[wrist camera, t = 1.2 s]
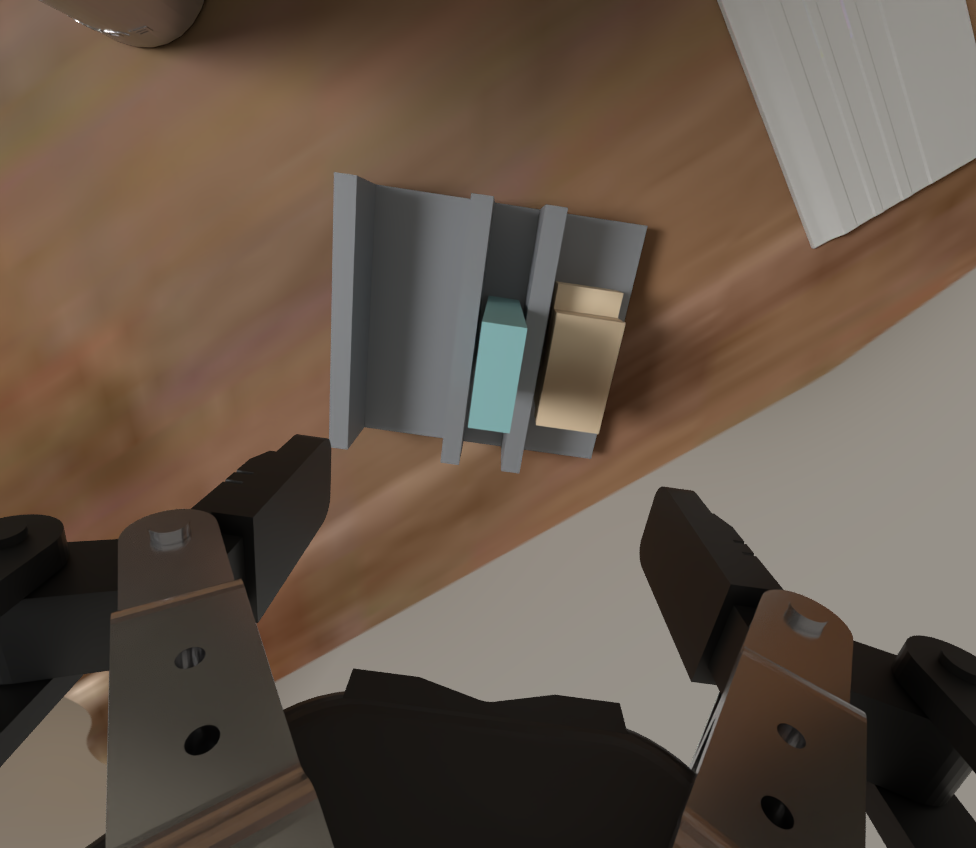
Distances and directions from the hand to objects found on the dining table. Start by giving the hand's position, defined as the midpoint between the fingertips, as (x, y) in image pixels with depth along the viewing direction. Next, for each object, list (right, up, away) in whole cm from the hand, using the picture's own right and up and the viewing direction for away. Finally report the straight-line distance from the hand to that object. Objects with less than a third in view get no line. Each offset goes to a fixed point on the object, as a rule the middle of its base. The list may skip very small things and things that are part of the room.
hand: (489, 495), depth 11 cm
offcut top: (+6, +5, +19) cm, 20 cm away
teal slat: (+1, +8, +20) cm, 22 cm away
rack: (0, +8, +21) cm, 23 cm away
